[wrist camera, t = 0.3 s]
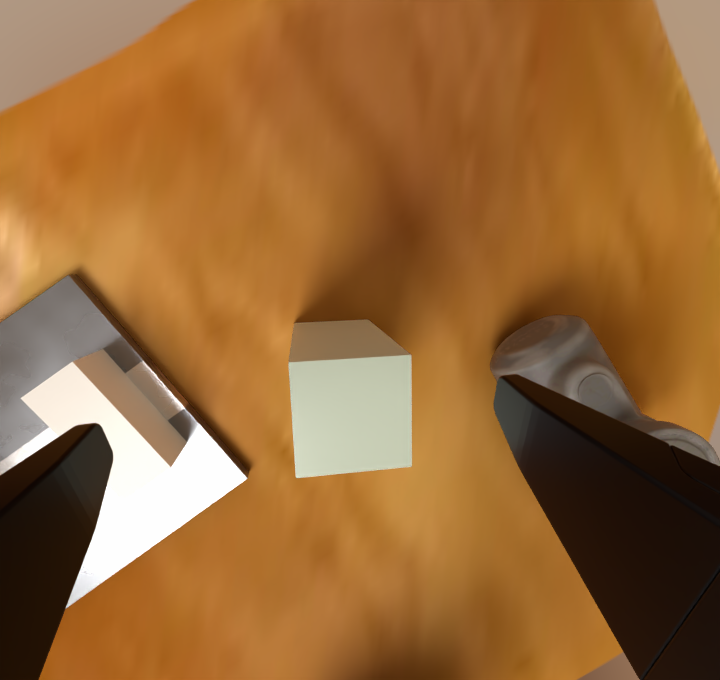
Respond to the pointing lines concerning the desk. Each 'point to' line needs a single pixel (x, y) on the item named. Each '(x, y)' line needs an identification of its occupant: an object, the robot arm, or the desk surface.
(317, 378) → the block
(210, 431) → the mounting plate
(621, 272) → the desk surface
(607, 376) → the pipe fitting
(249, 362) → the desk surface
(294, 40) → the desk surface
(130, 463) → the mounted modules
